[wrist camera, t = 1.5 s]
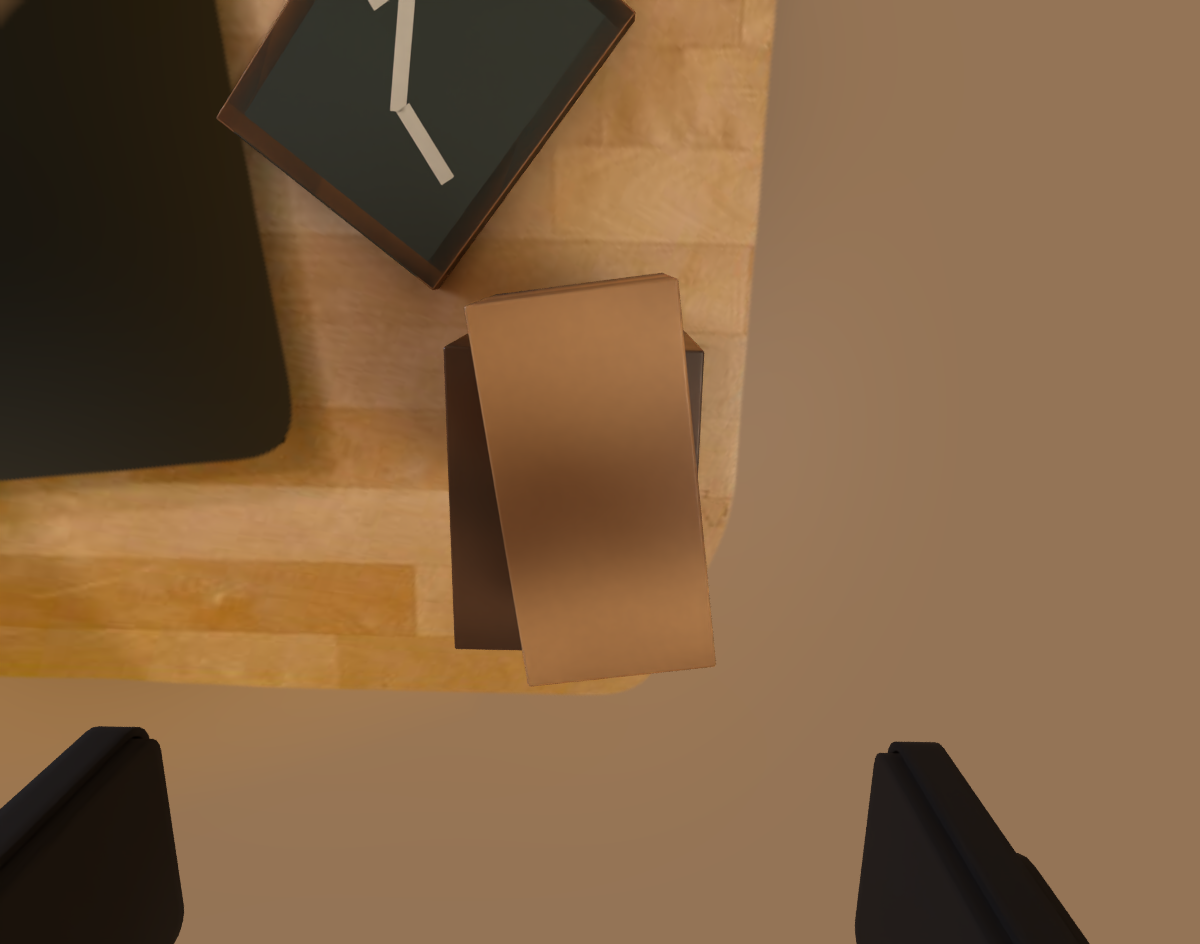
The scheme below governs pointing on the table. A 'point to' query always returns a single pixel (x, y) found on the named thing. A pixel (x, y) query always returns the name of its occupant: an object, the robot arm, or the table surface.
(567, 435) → the eraser
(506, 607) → the desk box
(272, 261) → the table surface
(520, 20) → the slate board
